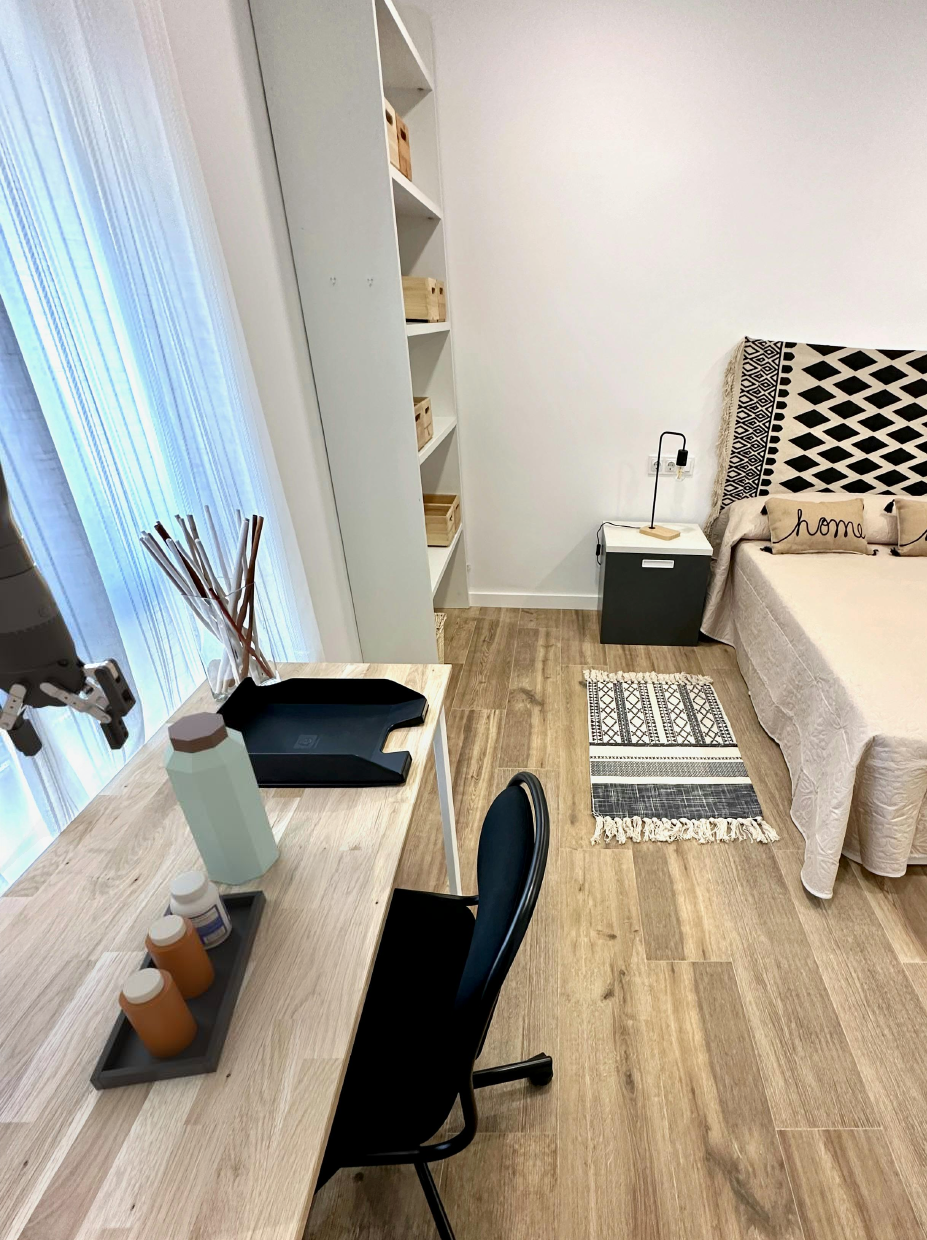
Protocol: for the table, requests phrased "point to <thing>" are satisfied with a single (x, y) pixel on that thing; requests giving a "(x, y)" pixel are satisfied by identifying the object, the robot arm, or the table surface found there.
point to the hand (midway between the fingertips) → (77, 748)
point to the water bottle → (220, 798)
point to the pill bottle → (201, 907)
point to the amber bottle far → (158, 1012)
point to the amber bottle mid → (180, 954)
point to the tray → (210, 1010)
